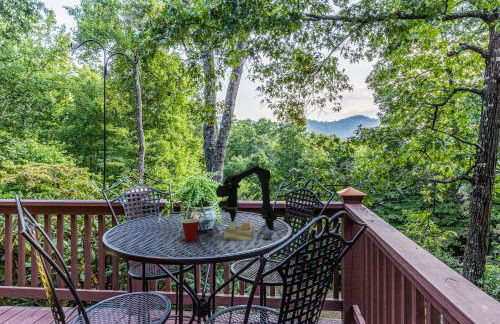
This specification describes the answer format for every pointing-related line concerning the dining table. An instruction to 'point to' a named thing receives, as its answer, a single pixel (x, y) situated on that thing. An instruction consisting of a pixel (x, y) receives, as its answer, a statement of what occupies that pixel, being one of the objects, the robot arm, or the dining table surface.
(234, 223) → the grey plug
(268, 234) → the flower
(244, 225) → the terracotta plug
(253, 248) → the dining table surface
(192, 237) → the plastic cup
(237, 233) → the press panel
